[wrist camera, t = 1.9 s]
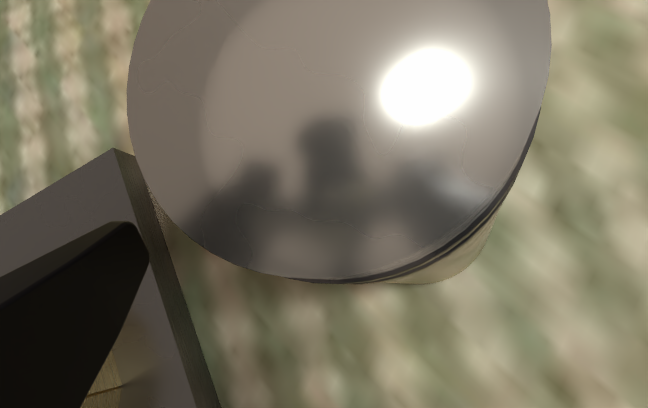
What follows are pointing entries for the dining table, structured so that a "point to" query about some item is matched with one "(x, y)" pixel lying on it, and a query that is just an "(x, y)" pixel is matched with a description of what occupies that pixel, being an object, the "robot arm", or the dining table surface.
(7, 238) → the tube holder stand
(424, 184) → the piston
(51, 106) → the dining table surface
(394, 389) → the dining table surface
